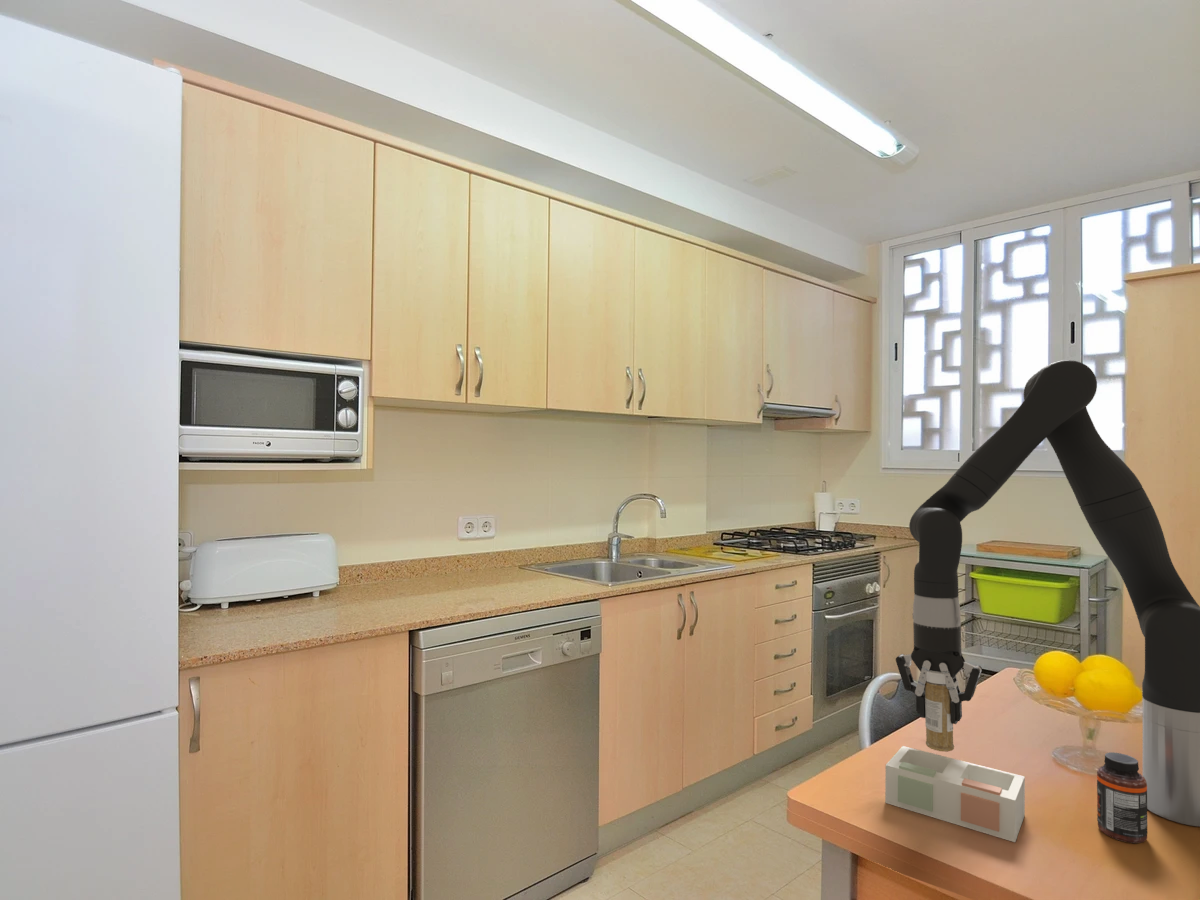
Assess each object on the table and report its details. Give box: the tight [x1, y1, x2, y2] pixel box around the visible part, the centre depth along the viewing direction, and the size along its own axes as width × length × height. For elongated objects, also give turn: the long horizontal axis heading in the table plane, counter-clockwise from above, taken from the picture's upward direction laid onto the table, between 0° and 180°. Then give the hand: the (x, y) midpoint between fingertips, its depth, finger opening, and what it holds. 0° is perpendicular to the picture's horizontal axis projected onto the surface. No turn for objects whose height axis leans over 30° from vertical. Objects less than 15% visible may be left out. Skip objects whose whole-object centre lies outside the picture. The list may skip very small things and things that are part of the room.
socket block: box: [884, 745, 1026, 843], centre depth 108 cm, size 18×10×6 cm, turn 52°
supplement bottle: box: [1096, 751, 1148, 844], centre depth 102 cm, size 6×6×11 cm
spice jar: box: [924, 670, 955, 753], centre depth 120 cm, size 5×5×13 cm
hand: (938, 719), depth 120 cm, fingers closed on spice jar, 4 cm apart
